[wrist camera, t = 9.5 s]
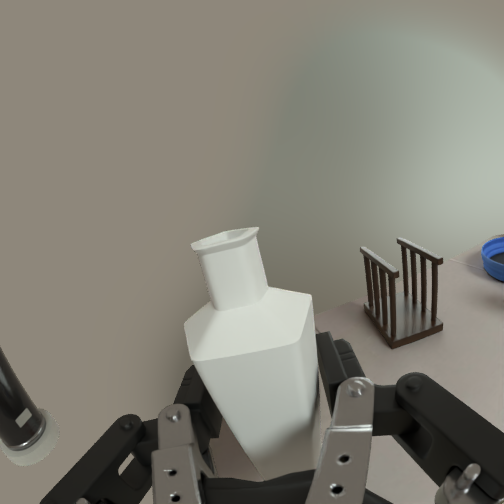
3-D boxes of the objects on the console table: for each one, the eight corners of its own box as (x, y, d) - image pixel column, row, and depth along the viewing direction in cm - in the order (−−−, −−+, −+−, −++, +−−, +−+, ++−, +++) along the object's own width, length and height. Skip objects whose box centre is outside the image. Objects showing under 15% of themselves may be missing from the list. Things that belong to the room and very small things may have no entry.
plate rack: (442, 330, 29) (445, 256, 27) (392, 349, 30) (389, 273, 28) (406, 296, 41) (402, 236, 39) (364, 309, 42) (357, 247, 39)
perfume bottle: (270, 457, 15) (193, 232, 11) (337, 459, 13) (300, 211, 10) (248, 511, 10) (114, 272, 7) (324, 519, 9) (266, 248, 5)
